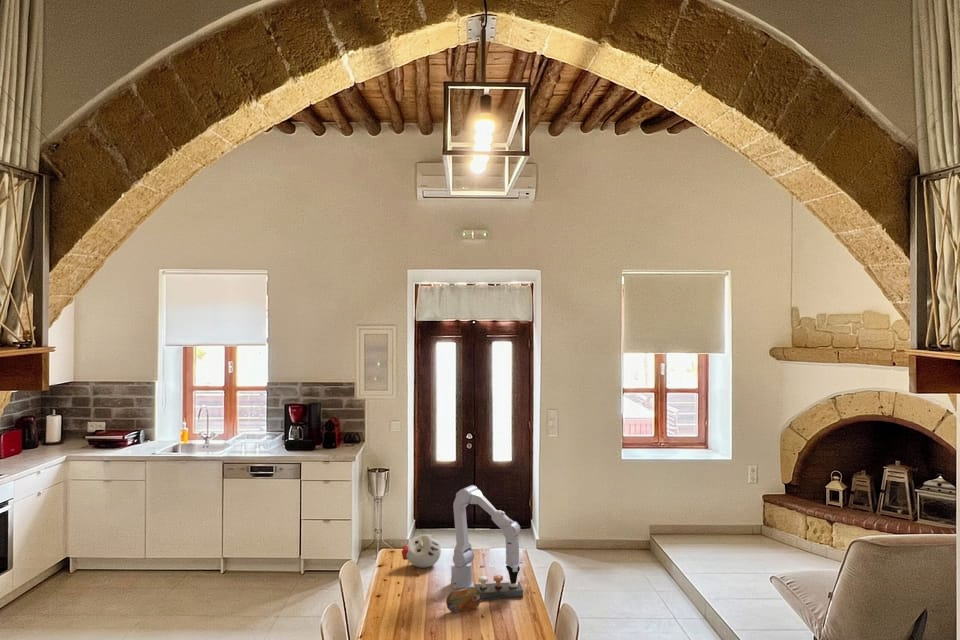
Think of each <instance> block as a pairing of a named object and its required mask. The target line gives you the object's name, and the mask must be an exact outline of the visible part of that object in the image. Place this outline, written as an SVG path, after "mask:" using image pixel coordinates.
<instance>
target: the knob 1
mask: <svg viewBox="0 0 960 640" xmlns="http://www.w3.org/2000/svg"><path fill="white" fill-rule="evenodd" d="M488 581H489V577H488V576H486V575H481V576H479V577H478V582H479V583H480V584H481V588H482V589H485V588H486V584H487V582H488Z"/></svg>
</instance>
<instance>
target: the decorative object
mask: <svg viewBox="0 0 960 640" xmlns="http://www.w3.org/2000/svg"><path fill="white" fill-rule="evenodd" d="M441 552H442V549H441V544H440V542H439V540H438V539H437V538H436V537H435V536H433V535H431V534H421V535H417V536H416V537H414V538H412V539H411V540H410V541H408V543H407V544H406V545H404V546H402V550H401V556H402V559H403V560H405V561H406V560H407V561H409V562H410V563H411V565H413V566H414V567H417V568H422V569H423V568H430V567H432V566H434V565H436V563H437V562H438V561H439V559H440V556H441Z"/></svg>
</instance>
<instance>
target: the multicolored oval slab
mask: <svg viewBox="0 0 960 640" xmlns="http://www.w3.org/2000/svg"><path fill="white" fill-rule="evenodd" d="M481 601H482V600H481V593H480V591H479V590H478V589H476V588H474V587H469V588H459V589H458V590H453V591H451V592H449V594H448V595H447V597H446V599H445V604H446V607H447V609H448V610H449V611H450V612H451V613H452V614H460V613H463V612H468V611H472V610H475V609H476V608H478V607H479V605H480V604H481ZM459 612H460V613H459Z"/></svg>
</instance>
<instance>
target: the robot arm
mask: <svg viewBox="0 0 960 640" xmlns="http://www.w3.org/2000/svg"><path fill="white" fill-rule="evenodd" d="M452 504H453V505H452V507H453V517H454V518H453V520H454V529H455V530H454V531H455V541H456V545H455V547H454V549H453V556H452V562H453V564H454V565H450V566H451V567H450V570H451V573H450V576H451V577H450V583H451V588H452V589H454V590H455V589H464V588H469V587H473V588H474V582H473V570H472V569H473V568H472V566H473V565H472V564H473V563H472V561H473V560H474V557H475V553H474V550H473V547H472V544H471V543H470V542H469V535H468V534H469V531H468V523H467V520H468V519H467V506H468V505H469V504H470V505H478V506H479V507H481V508H482V509H483V510H484V511H485V512H486V513H488V515H490V516H491V521H492V522H493V523H494V524H495V525H496V526H497V527H498V528H500V530H501V531H502V533H503V537H504V538H505V564H506V565H505V567H506V570H507V573H508V575H509V582H511V584H515V583H516V582H517V581H518V580H517V579H518V575H519V572H520V569H521V568H520V564H523V561H522V560H520V539H519V537H520V535H519V534H520V532H521V525H520V524H519V523H518V521H515V520H513V519H511V518H510V517H508V515H506V512H505V511H504V510H501V509H499V510H498V509H496V508H495V506H494V505H493V504H492V503H491V502H490V501H489V500H488V499H487V498H486V496H484V495H483V493H482V491H481V490H480V489H479V488H478V487H477V486H476V485H474V484H472V485H469V486H466V487H464V488H461V489H460V490H459V491H457V492H456V493H455V499H454V501H453V503H452Z"/></svg>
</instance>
